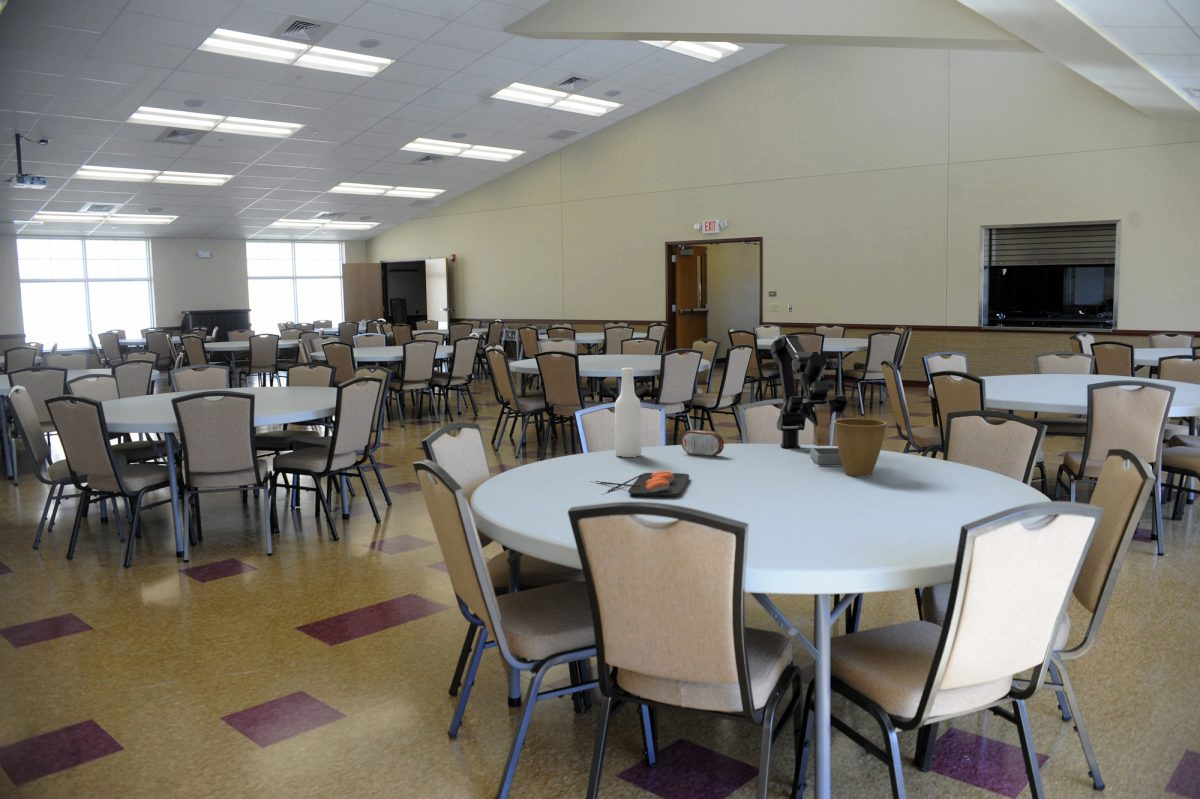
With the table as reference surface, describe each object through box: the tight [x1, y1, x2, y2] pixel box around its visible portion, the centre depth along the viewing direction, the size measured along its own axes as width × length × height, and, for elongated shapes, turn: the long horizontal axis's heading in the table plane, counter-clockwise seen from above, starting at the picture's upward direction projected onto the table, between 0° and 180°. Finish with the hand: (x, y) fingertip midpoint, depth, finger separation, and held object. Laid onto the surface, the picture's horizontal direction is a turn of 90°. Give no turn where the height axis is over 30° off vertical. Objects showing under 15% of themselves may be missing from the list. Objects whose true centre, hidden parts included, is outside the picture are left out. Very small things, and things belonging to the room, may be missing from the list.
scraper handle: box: [813, 404, 831, 447], centre depth 292 cm, size 4×4×13 cm
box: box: [809, 447, 842, 466], centre depth 294 cm, size 14×14×4 cm
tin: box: [680, 429, 725, 457], centre depth 310 cm, size 15×3×8 cm, turn 58°
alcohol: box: [614, 367, 642, 458], centre depth 310 cm, size 9×9×30 cm
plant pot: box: [833, 418, 887, 477], centre depth 272 cm, size 15×15×16 cm
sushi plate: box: [595, 470, 690, 497], centre depth 261 cm, size 29×30×4 cm
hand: (823, 425), depth 290 cm, fingers closed on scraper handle, 4 cm apart
